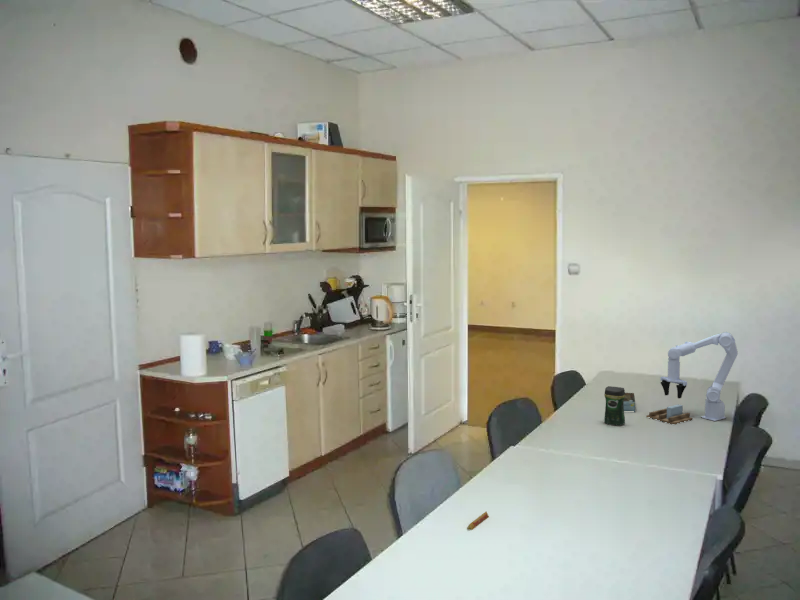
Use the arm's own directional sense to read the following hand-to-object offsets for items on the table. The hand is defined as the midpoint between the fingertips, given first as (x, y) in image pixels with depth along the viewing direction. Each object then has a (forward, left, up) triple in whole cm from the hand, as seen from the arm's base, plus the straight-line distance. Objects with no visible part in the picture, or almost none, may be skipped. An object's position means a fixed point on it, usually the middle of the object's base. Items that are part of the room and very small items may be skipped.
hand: (673, 396), depth 354 cm
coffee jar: (+37, -6, -10) cm, 39 cm away
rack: (+8, +4, -9) cm, 13 cm away
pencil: (+164, +46, -10) cm, 170 cm away
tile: (+8, +7, -8) cm, 13 cm away
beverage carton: (+8, -22, -10) cm, 26 cm away
